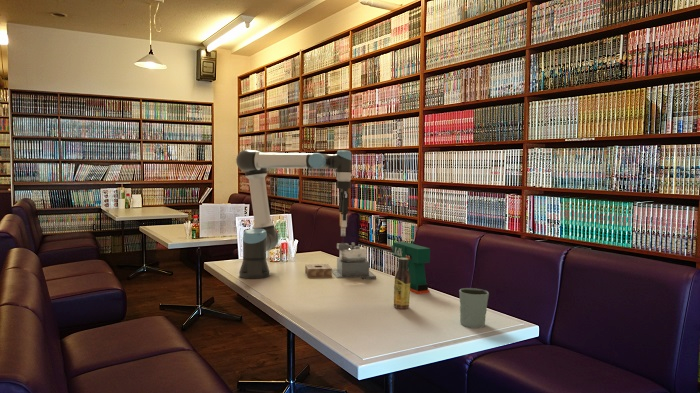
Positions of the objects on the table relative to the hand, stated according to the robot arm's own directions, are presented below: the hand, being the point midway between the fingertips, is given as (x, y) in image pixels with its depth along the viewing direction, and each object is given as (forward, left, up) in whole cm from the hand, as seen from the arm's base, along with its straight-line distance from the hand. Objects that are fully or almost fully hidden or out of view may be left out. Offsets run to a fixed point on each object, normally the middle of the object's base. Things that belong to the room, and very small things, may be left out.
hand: (343, 226), depth 248 cm
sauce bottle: (+12, -61, -26) cm, 67 cm away
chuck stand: (+5, 0, -26) cm, 26 cm away
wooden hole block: (-13, 0, -26) cm, 29 cm away
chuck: (+5, 0, -17) cm, 18 cm away
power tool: (+25, -25, -26) cm, 44 cm away
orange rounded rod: (0, 0, -5) cm, 5 cm away
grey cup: (+31, -85, -26) cm, 94 cm away
